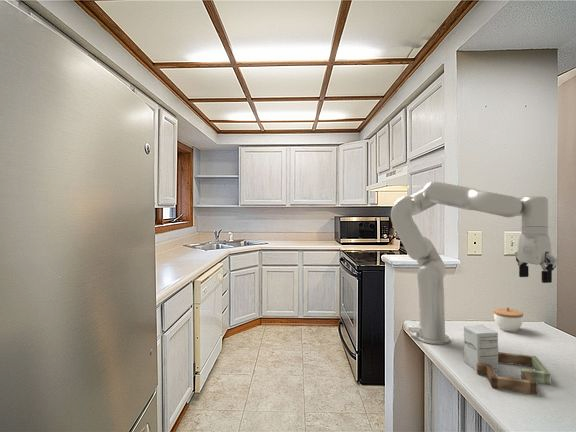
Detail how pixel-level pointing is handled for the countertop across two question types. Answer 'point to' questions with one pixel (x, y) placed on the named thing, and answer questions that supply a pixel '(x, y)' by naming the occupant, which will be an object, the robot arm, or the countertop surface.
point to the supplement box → (480, 346)
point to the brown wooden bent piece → (512, 382)
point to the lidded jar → (508, 319)
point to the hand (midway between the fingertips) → (534, 279)
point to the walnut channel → (538, 374)
